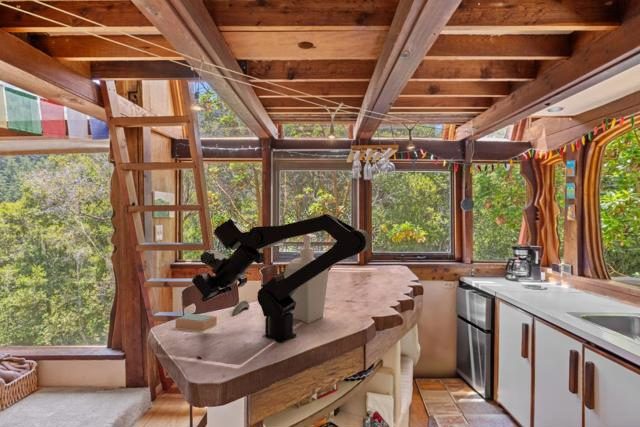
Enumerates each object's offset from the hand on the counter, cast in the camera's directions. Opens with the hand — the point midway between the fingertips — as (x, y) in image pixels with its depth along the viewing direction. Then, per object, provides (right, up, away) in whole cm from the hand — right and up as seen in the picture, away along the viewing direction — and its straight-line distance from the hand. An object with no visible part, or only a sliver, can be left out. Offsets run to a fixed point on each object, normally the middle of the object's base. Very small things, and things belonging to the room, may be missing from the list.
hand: (203, 300), depth 102 cm
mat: (0, -8, 0) cm, 8 cm away
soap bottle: (+27, -8, +12) cm, 31 cm away
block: (+2, -6, -1) cm, 6 cm away
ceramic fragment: (+6, -9, +18) cm, 21 cm away
